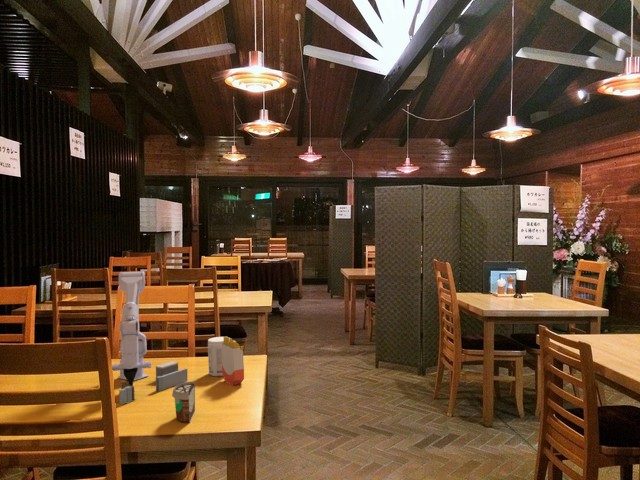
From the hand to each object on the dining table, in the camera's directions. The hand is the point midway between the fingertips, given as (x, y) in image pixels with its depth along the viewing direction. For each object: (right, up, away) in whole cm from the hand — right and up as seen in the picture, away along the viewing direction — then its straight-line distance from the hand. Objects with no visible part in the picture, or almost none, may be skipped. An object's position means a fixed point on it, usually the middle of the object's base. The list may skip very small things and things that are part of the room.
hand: (131, 388), depth 178 cm
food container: (+26, -2, -23) cm, 35 cm away
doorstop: (+8, -2, +18) cm, 19 cm away
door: (0, -2, -3) cm, 4 cm away
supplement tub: (+28, -1, +24) cm, 37 cm away
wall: (+9, -2, +2) cm, 9 cm away
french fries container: (+36, -1, +12) cm, 38 cm away
